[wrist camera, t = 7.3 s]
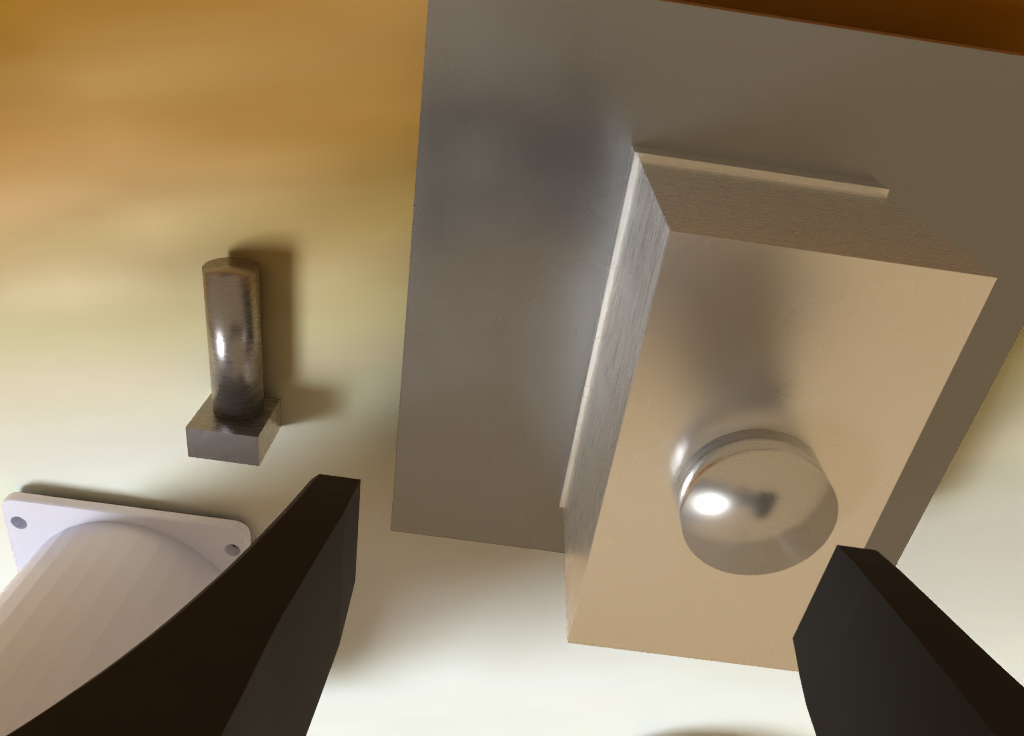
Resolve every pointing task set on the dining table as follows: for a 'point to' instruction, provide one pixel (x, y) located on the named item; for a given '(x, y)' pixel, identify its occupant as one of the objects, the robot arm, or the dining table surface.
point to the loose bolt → (234, 370)
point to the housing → (747, 399)
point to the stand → (595, 202)
